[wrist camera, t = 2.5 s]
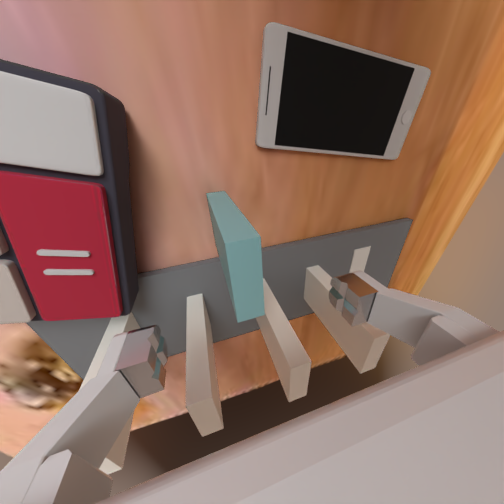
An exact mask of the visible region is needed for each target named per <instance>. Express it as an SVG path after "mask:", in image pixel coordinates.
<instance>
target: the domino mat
mask: <svg viewBox="0 0 504 504" xmlns="http://www.w3.org/2000/svg"><path fill="white" fill-rule="evenodd" d="M412 221H413V220H412V219H409V218H404V219H399V220H394V221H390V222H385V223H380V224H375V225H370V226H366V227H361V228H356V229H351V230H346V231H342V232H337V233H332V234H327V235H322V236H317V237H313V238H308V239H303V240H298V241H293V242H289V243H284V244H279V245H274V246H269V247H265V248H261V252H262V271H263V278H264V279H265V281H266V282H267V284H268V286H269V288H270V289H271V291H272V293H273V295H274V296H275V298H276V300H277V302H278V303H279V305H280V307H281V309H282V310H283V312H284V314H285V316H286V317H287V319H288V320H292V319H295V318H298V317H302V316H305V315H308V314H312V313H314V311H313V310H312V309H311V307H310V306H309V305H308V304H307V302H306V301H305V300H304V289H305V278H306V268H308V267H312V266H316V265H319V266H320V267H321V268H322V269H323V270H324V271H325V272H326V273H327V274H329V275H330V276H331V277H332V278H333V277H337V276H340V275H344V274H347V273H351V272H354V271H358V270H360V271H363V272H365V273H366V274H368V275H369V276H371V277H372V278H374V279H375V280H376V281H378V282H379V283H381V284H382V285H384V286H385V287H388V284H389V282H390V279H391V276H392V274H393V271H394V268H395V266H396V263H397V260H398V258H399V255H400V253H401V250H402V247H403V245H404V242H405V239H406V237H407V234H408V231H409V229H410V226H411V224H412ZM137 276H138V287H139V291H138V294H137V297H136V300H135V302H134V305H133V308H132V310H131V312H132V314H133V316H134V317H135V319H136V321H137V323H138V325H139V326H140V328H144V327H148V326H152V325H158V326H159V328H160V329H161V334H160V336H162V337H164V338H165V340H166V343H167V348H168V357H169V356H172V355H175V354H179V353H182V352H185V351H186V322H187V297H189V296H193V295H197V294H201V293H202V294H203V298H204V302H205V305H206V309H207V313H208V316H209V320H210V324H211V331H212V339H213V343H215V342H219V341H222V340H225V339H229V338H232V337H235V336H239V335H242V334H245V333H248V332H252V331H255V330H258V329H260V327H259V325H258V322H257V320H256V318H253V319H249V320H246V321H242V322H239V323H238V322H237V318H236V315H235V311H234V308H233V304H232V301H231V297H230V293H229V290H228V286H227V283H226V279H225V275H224V272H223V268H222V265H221V261H220V257H217V258H212V259H207V260H202V261H197V262H193V263H188V264H183V265H178V266H173V267H169V268H164V269H159V270H154V271H149V272H145V273H140V274H137ZM111 318H112V317H111ZM111 318H95V319H78V320H61V321H44V320H43V321H30V322H26V323H27V324H28V325H29V326H30V327H31V328H32V329H33V330H34V331H35V332H36V333H37V334H38V335H39V336H40V337H41V338H42V339H43V340H44V341H45V342H46V343H47V344H48V345H49V346H50V347H51V348H52V349H53V350H54V351H55V352H56V353H57V354H58V355H59V356H60V357H61V358H62V359H63V360H64V361H65V362H66V363H67V364H68V365H69V366H70V367H71V368H72V369H73V370H74V371H75V372H76V373H77V374H78V375H79V376H80V377H81V378H82V379H83V380H84V378H85V376H86V374H87V372H88V370H89V367H90V365H91V363H92V361H93V358H94V356H95V354H96V352H97V349H98V347H99V345H100V343H101V340H102V338H103V336H104V334H105V331H106V329H107V327H108V325H109V322H110V320H111Z"/></svg>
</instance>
